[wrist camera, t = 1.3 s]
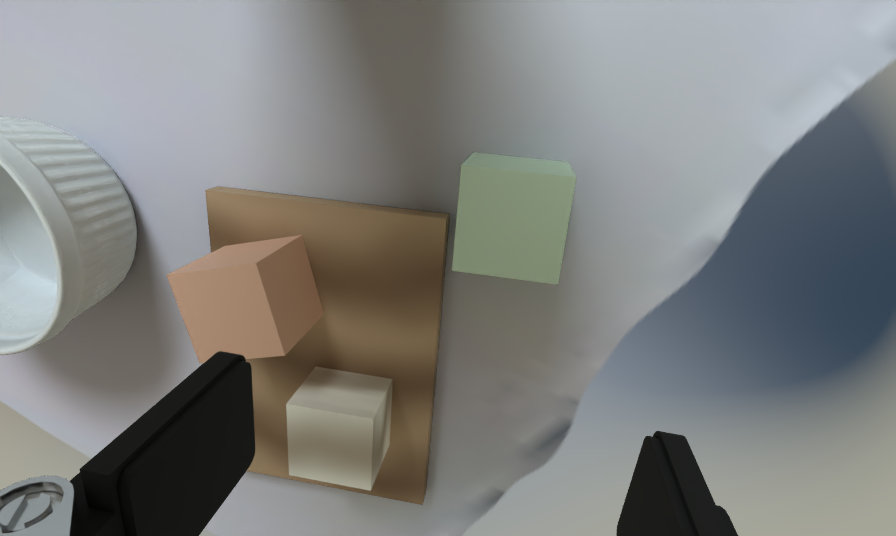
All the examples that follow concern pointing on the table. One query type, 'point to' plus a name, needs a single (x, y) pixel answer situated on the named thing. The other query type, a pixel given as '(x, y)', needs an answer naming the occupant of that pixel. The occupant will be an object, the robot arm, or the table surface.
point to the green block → (513, 217)
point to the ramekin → (56, 231)
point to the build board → (348, 342)
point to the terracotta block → (248, 298)
